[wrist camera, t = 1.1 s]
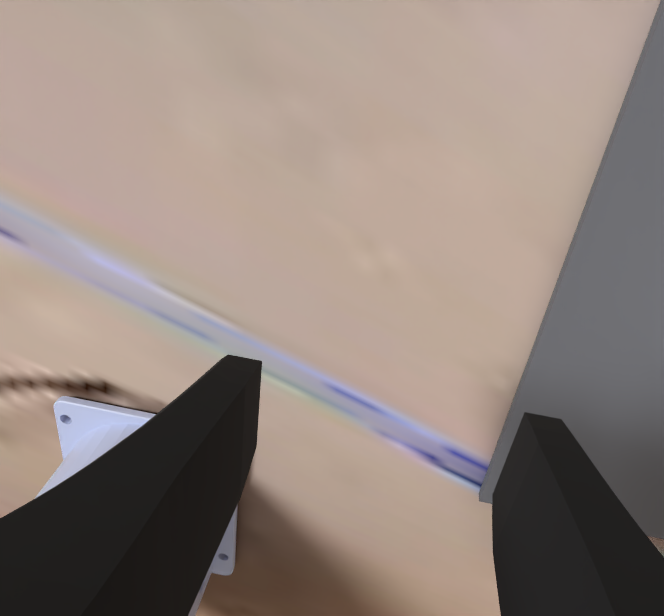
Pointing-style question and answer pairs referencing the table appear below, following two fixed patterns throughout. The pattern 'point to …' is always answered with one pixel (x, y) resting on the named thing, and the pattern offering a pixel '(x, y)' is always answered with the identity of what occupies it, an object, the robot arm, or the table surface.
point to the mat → (611, 313)
